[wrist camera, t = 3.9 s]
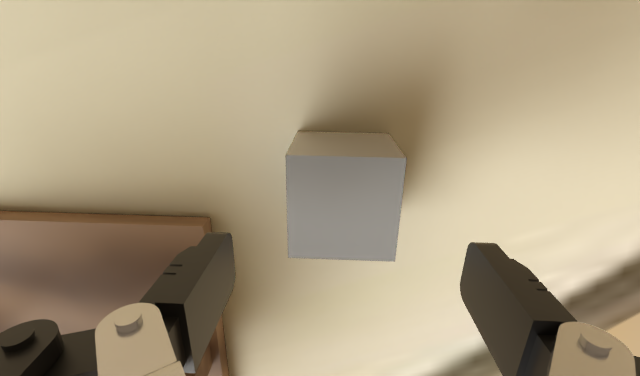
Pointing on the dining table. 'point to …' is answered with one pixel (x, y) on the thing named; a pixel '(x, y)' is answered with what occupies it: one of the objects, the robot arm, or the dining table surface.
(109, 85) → the dining table surface
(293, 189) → the gray cube
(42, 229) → the stand
